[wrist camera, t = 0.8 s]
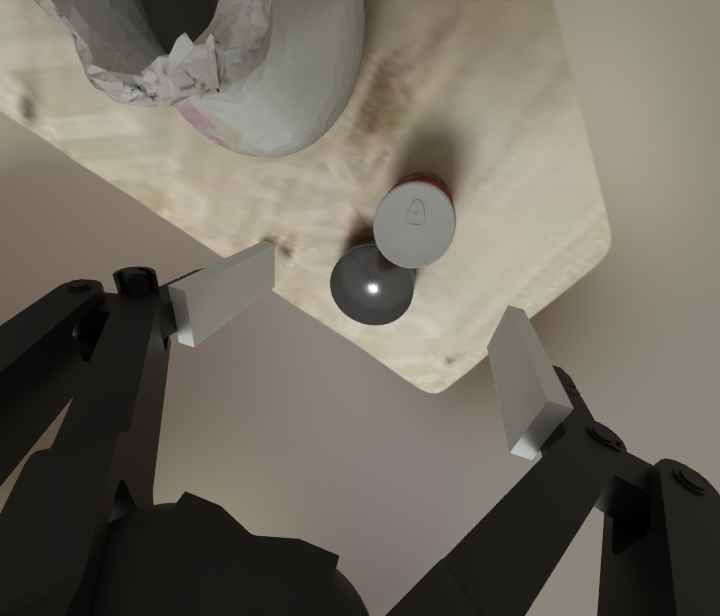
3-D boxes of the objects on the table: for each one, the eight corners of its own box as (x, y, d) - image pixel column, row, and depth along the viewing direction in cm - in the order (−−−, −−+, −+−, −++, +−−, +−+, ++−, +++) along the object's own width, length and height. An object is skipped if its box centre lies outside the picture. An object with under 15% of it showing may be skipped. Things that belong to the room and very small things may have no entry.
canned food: (449, 164, 33) (453, 172, 23) (454, 233, 36) (459, 263, 27) (384, 179, 35) (364, 191, 26) (394, 242, 38) (380, 273, 29)
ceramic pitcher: (209, 126, 38) (-55, 142, 18) (177, -120, 26) (-667, -850, 6) (365, 162, 36) (262, 225, 16) (405, -90, 24) (205, -1071, 4)
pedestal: (348, 228, 39) (336, 238, 35) (426, 249, 38) (424, 262, 34) (335, 296, 45) (325, 311, 40) (403, 316, 44) (399, 335, 39)
